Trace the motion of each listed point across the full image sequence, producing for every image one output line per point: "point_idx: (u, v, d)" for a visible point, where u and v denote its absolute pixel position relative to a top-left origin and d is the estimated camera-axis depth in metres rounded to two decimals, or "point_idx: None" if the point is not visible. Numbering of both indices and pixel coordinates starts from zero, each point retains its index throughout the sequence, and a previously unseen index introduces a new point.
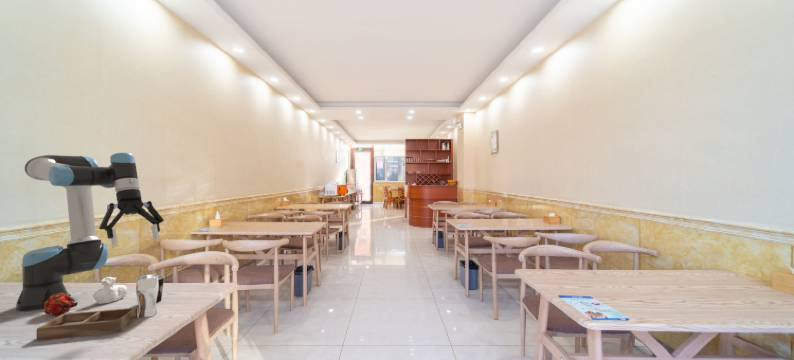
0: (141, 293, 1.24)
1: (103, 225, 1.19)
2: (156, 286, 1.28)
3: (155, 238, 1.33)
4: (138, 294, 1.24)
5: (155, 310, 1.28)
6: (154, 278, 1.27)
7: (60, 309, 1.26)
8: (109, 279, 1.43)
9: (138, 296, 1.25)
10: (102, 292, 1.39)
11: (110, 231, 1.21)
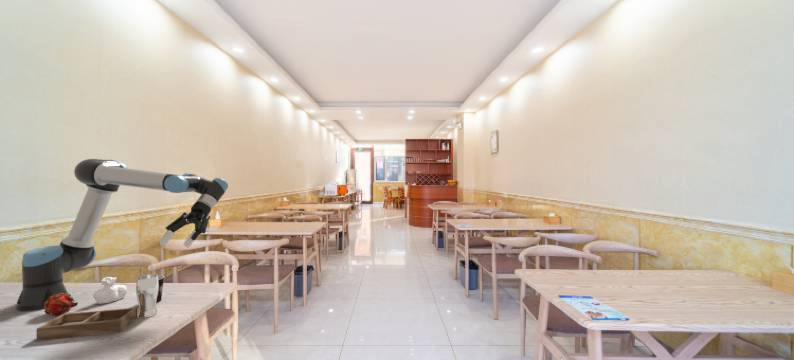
0: (141, 293, 1.24)
1: None
2: (156, 286, 1.28)
3: (163, 242, 1.40)
4: (138, 294, 1.24)
5: (155, 310, 1.28)
6: (154, 278, 1.27)
7: (60, 309, 1.26)
8: (109, 279, 1.43)
9: (138, 296, 1.25)
10: (102, 292, 1.39)
11: None
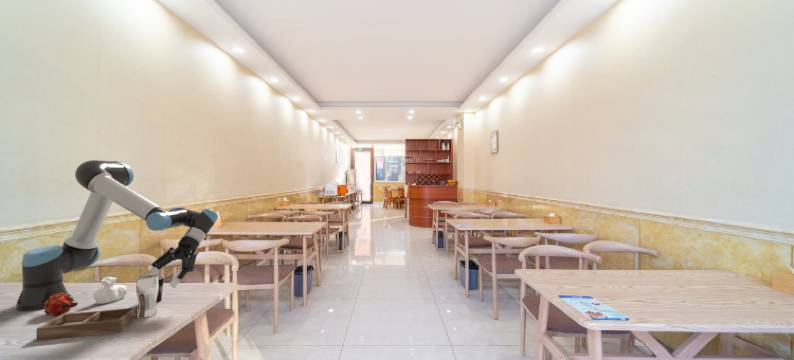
0: (141, 293, 1.24)
1: None
2: (156, 286, 1.28)
3: None
4: (138, 294, 1.24)
5: (155, 310, 1.28)
6: (154, 278, 1.27)
7: (60, 309, 1.26)
8: (109, 279, 1.43)
9: (138, 296, 1.25)
10: (102, 292, 1.39)
11: None
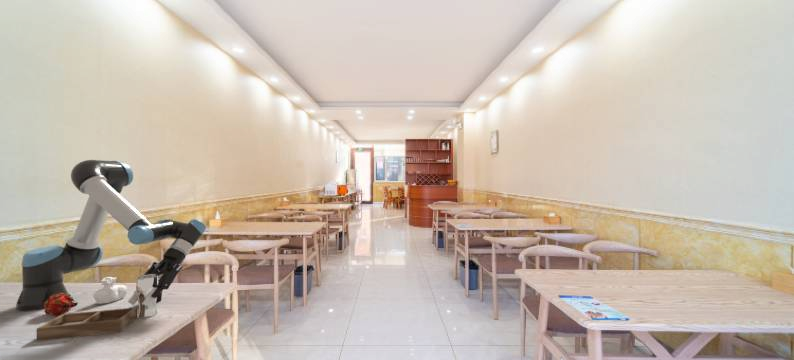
0: (141, 293, 1.24)
1: None
2: None
3: (133, 301, 1.26)
4: (138, 294, 1.24)
5: (155, 310, 1.28)
6: (154, 278, 1.27)
7: (60, 309, 1.26)
8: (109, 279, 1.43)
9: (138, 296, 1.25)
10: (102, 292, 1.39)
11: None
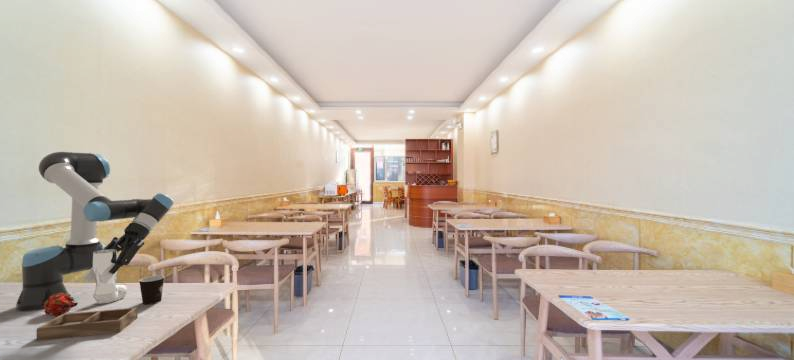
0: (98, 268, 1.16)
1: None
2: None
3: (89, 277, 1.17)
4: (94, 270, 1.16)
5: (114, 287, 1.20)
6: (113, 253, 1.19)
7: (60, 309, 1.26)
8: None
9: (94, 272, 1.16)
10: None
11: None
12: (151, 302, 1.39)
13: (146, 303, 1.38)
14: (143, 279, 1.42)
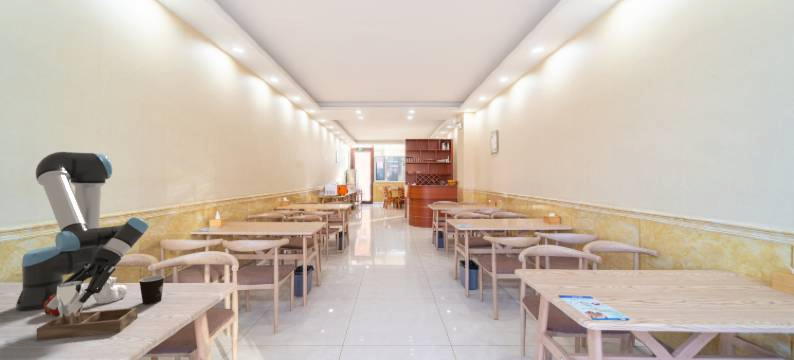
0: (61, 303, 1.11)
1: None
2: None
3: (53, 305, 1.14)
4: (58, 304, 1.12)
5: (80, 321, 1.15)
6: (78, 286, 1.14)
7: None
8: (109, 279, 1.43)
9: (58, 306, 1.12)
10: (102, 292, 1.39)
11: None
12: (151, 302, 1.39)
13: (146, 303, 1.38)
14: (143, 279, 1.42)
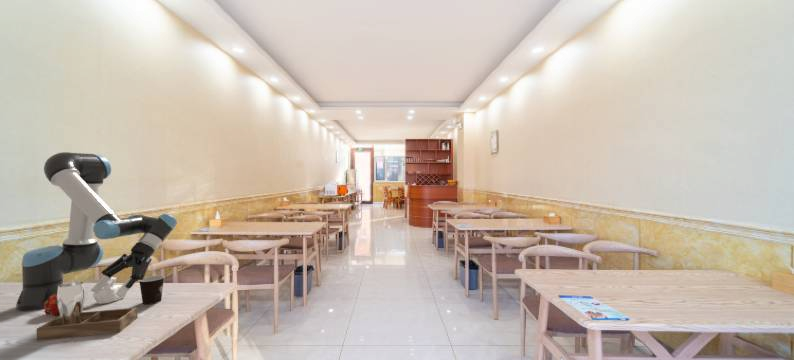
0: (62, 303, 1.11)
1: None
2: (81, 295, 1.15)
3: (96, 290, 1.28)
4: (58, 304, 1.12)
5: (80, 321, 1.15)
6: (79, 286, 1.15)
7: None
8: None
9: (59, 306, 1.12)
10: (102, 292, 1.39)
11: None
12: (151, 302, 1.39)
13: (146, 303, 1.38)
14: (143, 279, 1.42)
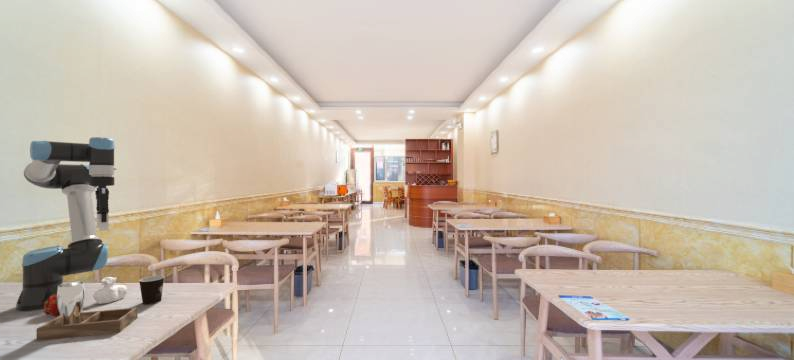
0: (62, 303, 1.11)
1: (108, 210, 1.27)
2: (81, 295, 1.15)
3: None
4: (58, 304, 1.12)
5: (80, 321, 1.15)
6: (79, 286, 1.15)
7: None
8: (109, 279, 1.43)
9: (59, 306, 1.12)
10: (102, 292, 1.39)
11: (106, 215, 1.28)
12: (151, 302, 1.39)
13: (146, 303, 1.38)
14: (143, 279, 1.42)
